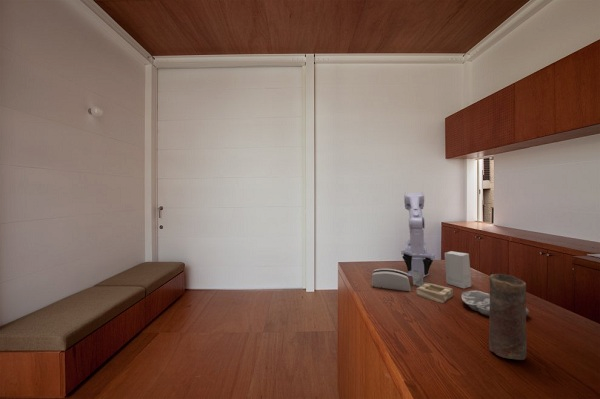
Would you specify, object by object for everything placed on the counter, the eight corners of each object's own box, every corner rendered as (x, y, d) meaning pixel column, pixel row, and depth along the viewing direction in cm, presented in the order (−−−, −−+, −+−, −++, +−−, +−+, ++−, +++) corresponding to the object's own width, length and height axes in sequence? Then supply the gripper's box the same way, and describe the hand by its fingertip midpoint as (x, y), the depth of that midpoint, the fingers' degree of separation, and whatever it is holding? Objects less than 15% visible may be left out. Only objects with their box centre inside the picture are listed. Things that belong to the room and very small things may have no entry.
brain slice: (447, 303, 94) (447, 295, 94) (478, 296, 100) (477, 288, 100) (505, 328, 75) (505, 319, 75) (538, 317, 81) (538, 308, 81)
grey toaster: (410, 287, 110) (410, 268, 107) (410, 294, 106) (410, 275, 103) (372, 282, 117) (371, 265, 114) (371, 289, 113) (369, 271, 110)
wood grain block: (421, 287, 110) (421, 272, 110) (412, 284, 113) (412, 270, 113) (425, 284, 113) (425, 270, 113) (417, 282, 116) (416, 269, 116)
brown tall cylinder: (518, 348, 65) (517, 274, 65) (534, 367, 58) (532, 283, 58) (484, 343, 68) (483, 272, 67) (496, 360, 61) (494, 281, 60)
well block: (427, 289, 107) (427, 282, 107) (452, 296, 100) (452, 288, 100) (416, 295, 101) (416, 288, 101) (442, 303, 93) (442, 295, 93)
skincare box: (471, 286, 109) (470, 253, 109) (463, 289, 106) (462, 255, 106) (452, 281, 116) (452, 250, 116) (444, 283, 114) (444, 251, 114)
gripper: (397, 242, 115) (398, 270, 115) (429, 246, 104) (430, 278, 104) (405, 240, 120) (405, 267, 120) (436, 244, 108) (437, 274, 109)
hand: (417, 272), depth 112 cm, fingers open, 7 cm apart
